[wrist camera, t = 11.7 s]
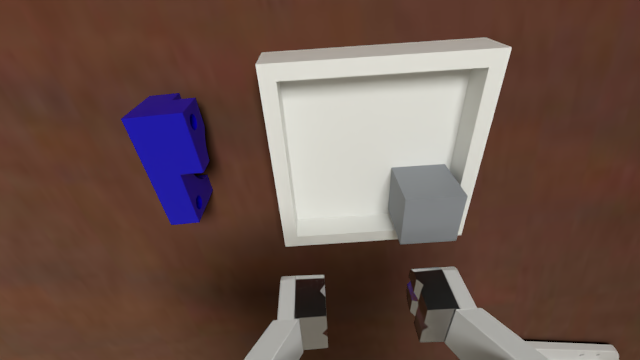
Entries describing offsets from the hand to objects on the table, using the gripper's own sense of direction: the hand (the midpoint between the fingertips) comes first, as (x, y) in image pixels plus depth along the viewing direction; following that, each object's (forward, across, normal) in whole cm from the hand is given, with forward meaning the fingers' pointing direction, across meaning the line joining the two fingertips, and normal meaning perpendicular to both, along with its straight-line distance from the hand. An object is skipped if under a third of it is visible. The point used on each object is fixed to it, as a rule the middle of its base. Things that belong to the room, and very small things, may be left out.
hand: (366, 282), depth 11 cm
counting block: (+13, -6, +5) cm, 15 cm away
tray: (+14, -2, +2) cm, 14 cm away
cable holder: (+10, +10, +1) cm, 14 cm away
